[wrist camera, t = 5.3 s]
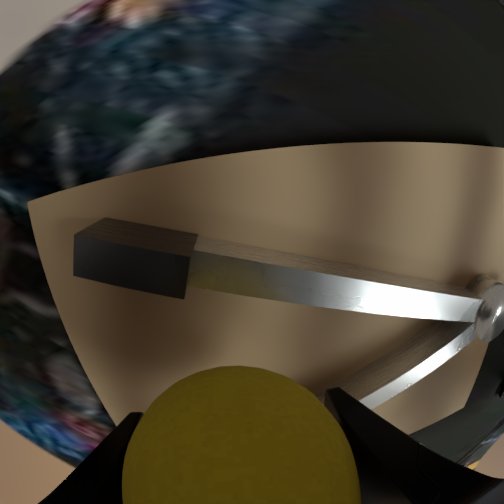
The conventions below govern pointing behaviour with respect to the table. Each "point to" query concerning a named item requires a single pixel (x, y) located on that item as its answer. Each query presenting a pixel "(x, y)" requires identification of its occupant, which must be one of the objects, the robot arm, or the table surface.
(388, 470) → the robot arm
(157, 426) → the lemon
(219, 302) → the board
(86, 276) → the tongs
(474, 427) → the table surface
